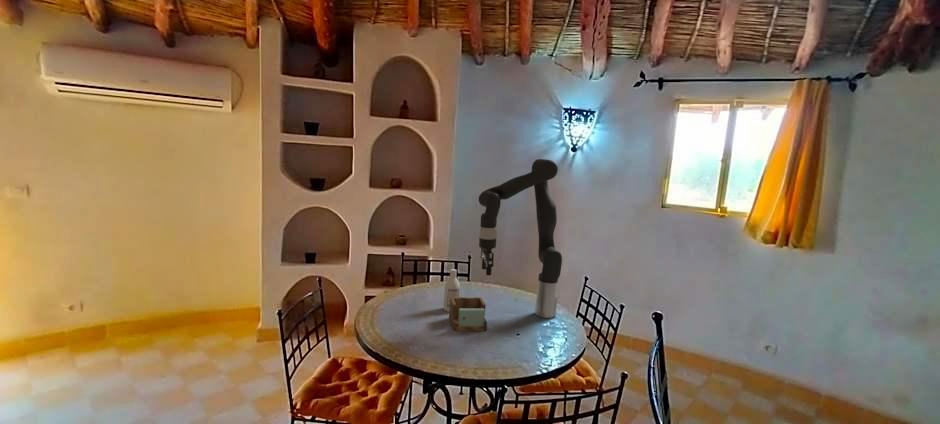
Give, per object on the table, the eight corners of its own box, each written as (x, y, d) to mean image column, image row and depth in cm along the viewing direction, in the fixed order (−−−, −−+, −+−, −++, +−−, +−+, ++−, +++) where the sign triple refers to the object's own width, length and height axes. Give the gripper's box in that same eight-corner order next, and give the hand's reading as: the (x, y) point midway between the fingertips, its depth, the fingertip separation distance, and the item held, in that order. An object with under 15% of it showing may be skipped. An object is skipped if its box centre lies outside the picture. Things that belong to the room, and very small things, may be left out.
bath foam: (460, 310, 241) (463, 270, 238) (449, 313, 237) (452, 272, 233) (452, 306, 246) (455, 266, 243) (440, 308, 242) (443, 268, 238)
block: (482, 327, 224) (483, 308, 222) (483, 330, 221) (485, 310, 219) (457, 327, 222) (459, 308, 220) (458, 330, 219) (460, 310, 217)
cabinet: (479, 317, 234) (481, 297, 232) (486, 330, 220) (488, 309, 219) (448, 318, 231) (450, 297, 230) (453, 330, 218) (455, 309, 216)
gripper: (500, 240, 216) (498, 276, 219) (492, 232, 229) (490, 267, 232) (483, 240, 214) (481, 277, 217) (476, 233, 228) (474, 267, 231)
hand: (486, 272), depth 225 cm, fingers open, 8 cm apart
